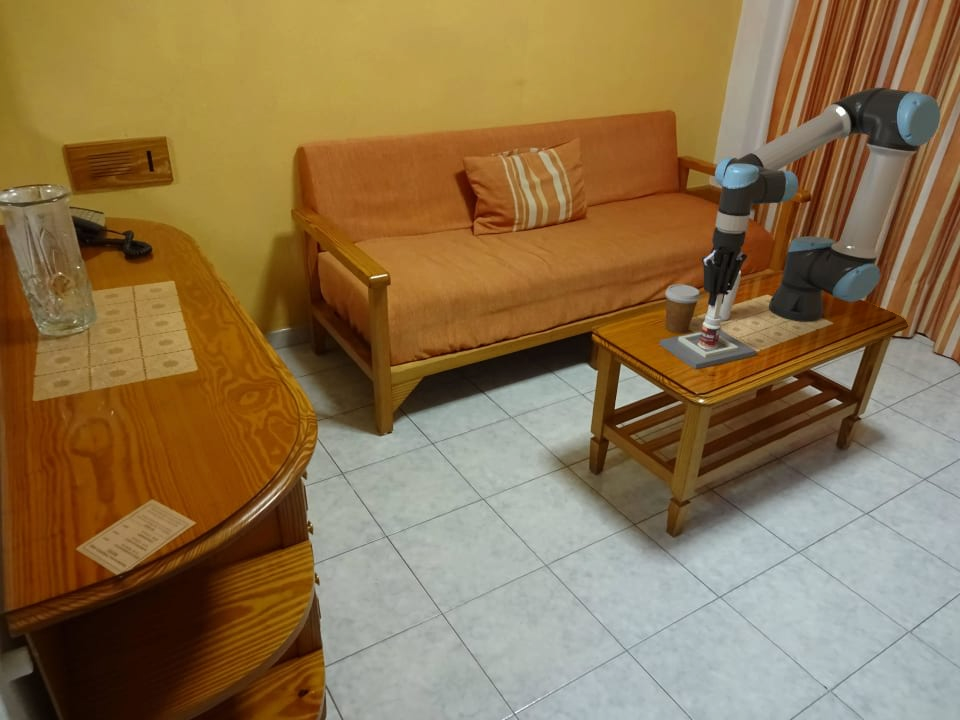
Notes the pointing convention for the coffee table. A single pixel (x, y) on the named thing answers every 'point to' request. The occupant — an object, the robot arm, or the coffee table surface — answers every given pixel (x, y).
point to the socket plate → (706, 350)
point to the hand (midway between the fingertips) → (712, 315)
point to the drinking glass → (729, 300)
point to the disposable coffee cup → (680, 307)
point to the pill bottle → (710, 332)
